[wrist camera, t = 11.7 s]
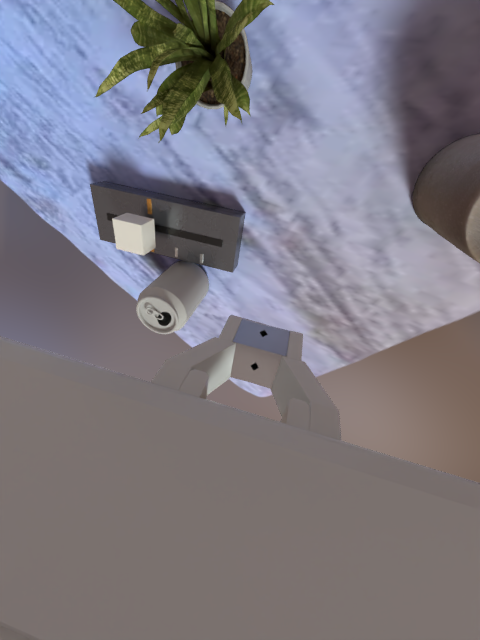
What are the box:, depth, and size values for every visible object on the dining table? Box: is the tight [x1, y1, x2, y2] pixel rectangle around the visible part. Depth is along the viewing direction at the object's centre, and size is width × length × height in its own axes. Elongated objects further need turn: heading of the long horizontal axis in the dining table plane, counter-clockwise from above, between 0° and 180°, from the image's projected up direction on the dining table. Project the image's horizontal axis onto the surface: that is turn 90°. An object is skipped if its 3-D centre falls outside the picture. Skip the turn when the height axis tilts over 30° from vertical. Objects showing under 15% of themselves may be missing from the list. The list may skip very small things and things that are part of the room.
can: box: [136, 261, 209, 334], centre depth 40 cm, size 8×8×12 cm
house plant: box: [95, 0, 274, 142], centre depth 21 cm, size 14×14×16 cm
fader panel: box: [90, 181, 245, 272], centre depth 39 cm, size 8×22×3 cm, turn 81°
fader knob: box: [112, 213, 156, 255], centre depth 36 cm, size 4×4×5 cm
